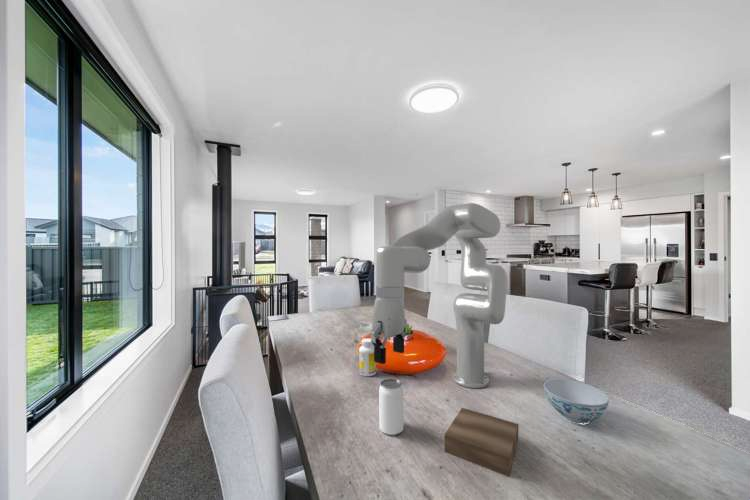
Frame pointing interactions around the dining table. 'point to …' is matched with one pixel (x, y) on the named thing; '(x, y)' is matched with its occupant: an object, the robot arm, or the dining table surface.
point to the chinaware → (576, 400)
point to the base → (482, 440)
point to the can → (391, 407)
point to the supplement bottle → (367, 358)
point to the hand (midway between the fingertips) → (389, 357)
